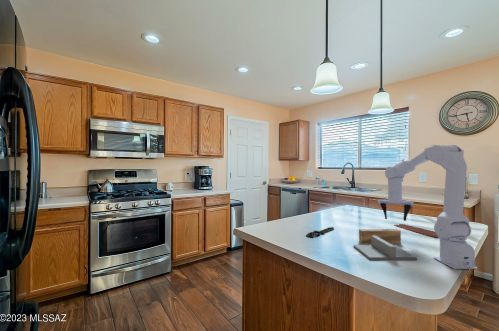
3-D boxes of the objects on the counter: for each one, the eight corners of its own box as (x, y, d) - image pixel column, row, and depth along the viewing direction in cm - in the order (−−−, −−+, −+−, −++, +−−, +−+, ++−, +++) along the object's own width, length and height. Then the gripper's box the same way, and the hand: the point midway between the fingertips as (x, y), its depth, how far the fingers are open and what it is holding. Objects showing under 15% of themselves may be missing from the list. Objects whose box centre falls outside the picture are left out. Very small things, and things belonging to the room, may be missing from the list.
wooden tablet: (451, 238, 115) (451, 234, 115) (436, 239, 113) (436, 236, 113) (403, 224, 141) (403, 222, 141) (390, 226, 138) (390, 223, 138)
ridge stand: (416, 259, 88) (416, 246, 88) (369, 259, 88) (369, 246, 88) (394, 246, 102) (393, 235, 102) (353, 247, 102) (353, 235, 102)
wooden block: (400, 243, 106) (400, 230, 106) (361, 243, 107) (361, 231, 107) (396, 241, 109) (396, 229, 109) (359, 241, 109) (359, 229, 109)
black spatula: (331, 228, 135) (331, 225, 135) (341, 230, 129) (341, 228, 129) (302, 236, 120) (302, 233, 120) (312, 239, 114) (312, 236, 114)
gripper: (411, 191, 111) (412, 219, 111) (377, 190, 118) (378, 216, 118) (414, 193, 105) (414, 222, 105) (377, 191, 112) (378, 219, 112)
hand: (395, 219), depth 111 cm, fingers open, 7 cm apart
